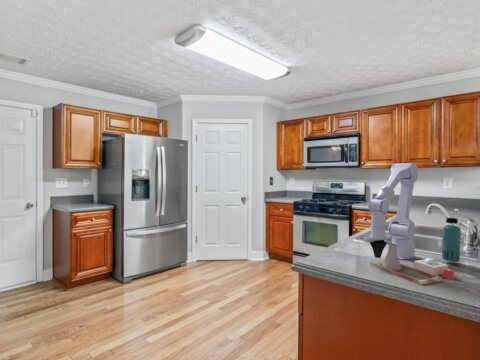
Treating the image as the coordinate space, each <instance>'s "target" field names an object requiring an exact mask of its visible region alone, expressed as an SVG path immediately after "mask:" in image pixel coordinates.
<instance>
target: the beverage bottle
mask: <svg viewBox="0 0 480 360" xmlns="http://www.w3.org/2000/svg"><path fill="white" fill-rule="evenodd" d="M445 223H448V224H446V225H444V226H443V227H442V251H441V256H442V257H441V259H442V260H444V261H445V262H452V263H458V262H460V260H461V227H459V226H457V225H455V224H459V221H458V218H456V217H446V221H445ZM453 224H454V225H453Z"/></svg>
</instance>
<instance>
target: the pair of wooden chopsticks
mask: <svg viewBox="0 0 480 360" xmlns="http://www.w3.org/2000/svg"><path fill="white" fill-rule="evenodd" d="M400 264H401V267H402V269H405V270H407V271H411V272H413V273H416V274H419V275H422V276H424V277H428V278H426V279H418V278H416V277H413V276H410V275H408V274H405V273H402V272H400V271H395V270H392V269H389V268H387V267H384V266H382V265H381V264H378V263H375V262H372V261H369V266H371V267H373V268H376V269H379V270H382V271H384V272H387V273H390V274H391V275H395V276H398V277H400V278H403V279H405V280H408V281H410V282H412V283H416V284H418V285H427V284H432V283H437V282H442V281H443V276H440V275H438V276H436V275H433V274H430V273H427V272H424V271H421V270H419V269H416V268H414V266H413V267H412V266H409V265H407V264H403V263H401V262H400Z"/></svg>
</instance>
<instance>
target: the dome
mask: <svg viewBox="0 0 480 360" xmlns="http://www.w3.org/2000/svg"><path fill="white" fill-rule="evenodd" d="M423 260H424V262H423V263H424V264H428V265H431V266H437V265H438V264H437V262H438V261H437V260H436V259H435V258H433V257H427V258H425V259H423Z"/></svg>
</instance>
